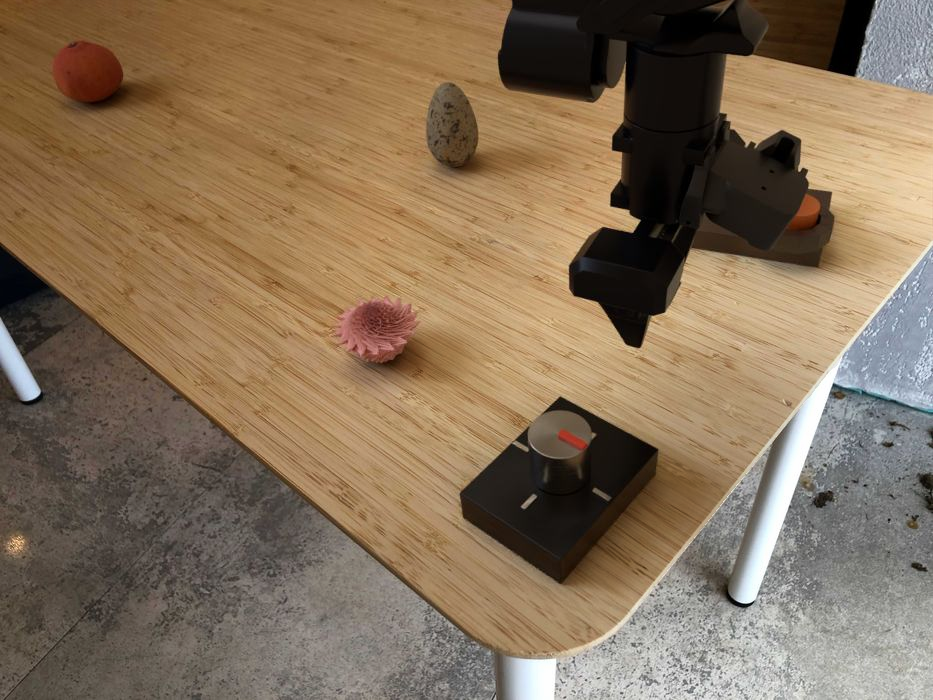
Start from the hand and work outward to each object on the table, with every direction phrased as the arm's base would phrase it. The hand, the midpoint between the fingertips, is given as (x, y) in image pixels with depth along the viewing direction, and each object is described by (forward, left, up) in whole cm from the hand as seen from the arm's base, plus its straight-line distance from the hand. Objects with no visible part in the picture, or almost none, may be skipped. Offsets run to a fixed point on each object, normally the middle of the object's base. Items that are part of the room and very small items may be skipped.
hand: (655, 306), depth 62 cm
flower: (+24, +1, -11) cm, 26 cm away
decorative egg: (+30, -31, -11) cm, 44 cm away
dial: (+4, +11, -8) cm, 14 cm away
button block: (-3, -27, -11) cm, 29 cm away
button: (-8, -24, -7) cm, 26 cm away
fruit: (+87, -35, -11) cm, 94 cm away
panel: (+4, +11, -11) cm, 16 cm away
